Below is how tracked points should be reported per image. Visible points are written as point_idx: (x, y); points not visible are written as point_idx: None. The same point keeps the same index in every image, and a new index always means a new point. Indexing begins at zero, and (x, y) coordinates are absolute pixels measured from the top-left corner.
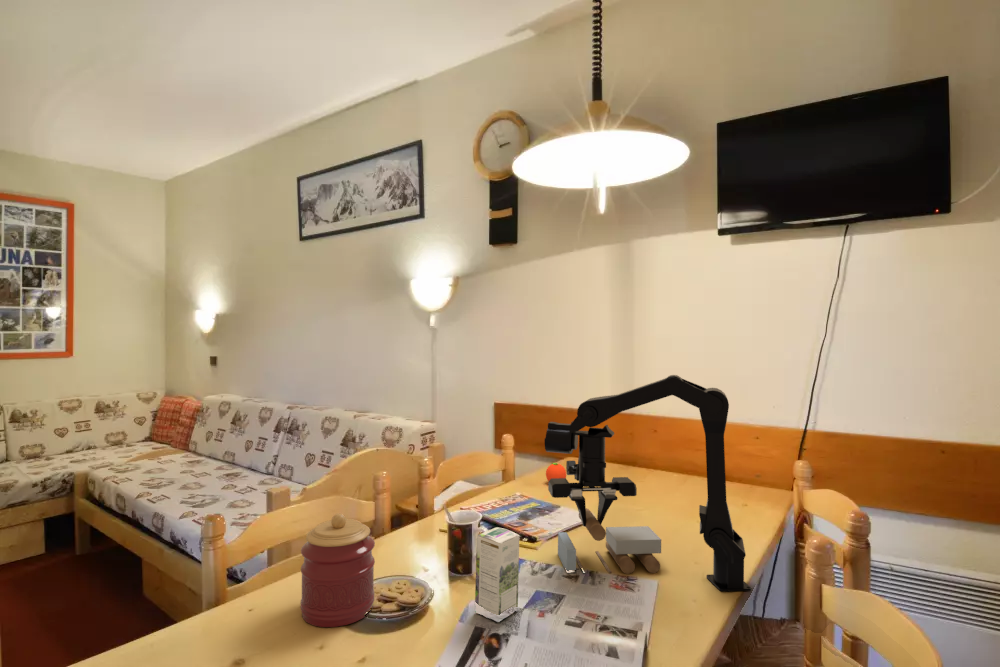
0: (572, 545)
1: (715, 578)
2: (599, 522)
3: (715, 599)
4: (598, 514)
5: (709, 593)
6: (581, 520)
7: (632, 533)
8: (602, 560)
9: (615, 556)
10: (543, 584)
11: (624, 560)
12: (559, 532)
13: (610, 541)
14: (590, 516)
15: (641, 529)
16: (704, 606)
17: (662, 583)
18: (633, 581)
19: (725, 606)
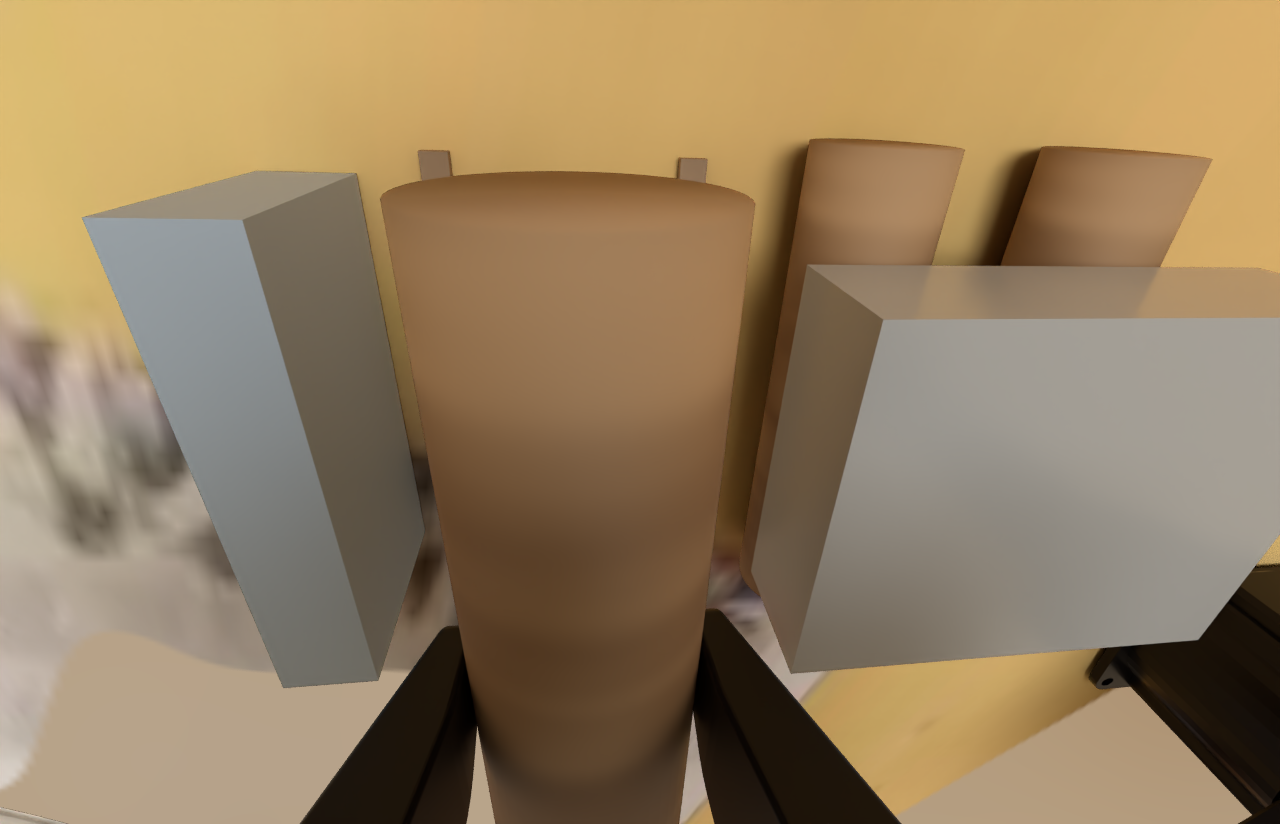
0: (342, 607)
1: (1149, 659)
2: (699, 734)
3: (1012, 715)
4: (740, 800)
5: (1031, 683)
6: (403, 686)
7: (1067, 525)
8: None
9: (768, 464)
10: (199, 648)
11: None
12: (110, 219)
13: (794, 458)
14: (574, 765)
15: (1263, 419)
16: (930, 753)
17: None
18: (758, 608)
19: (1003, 748)
